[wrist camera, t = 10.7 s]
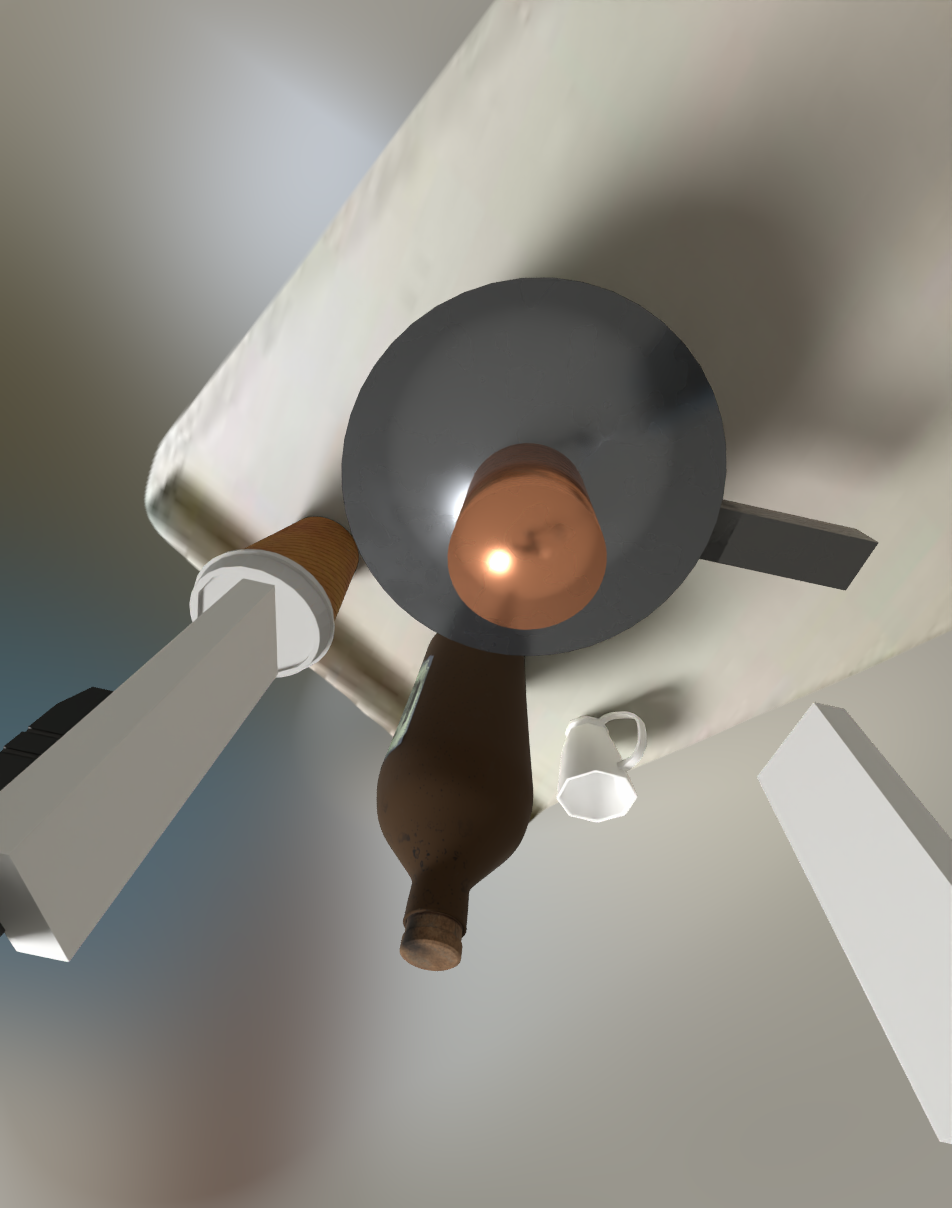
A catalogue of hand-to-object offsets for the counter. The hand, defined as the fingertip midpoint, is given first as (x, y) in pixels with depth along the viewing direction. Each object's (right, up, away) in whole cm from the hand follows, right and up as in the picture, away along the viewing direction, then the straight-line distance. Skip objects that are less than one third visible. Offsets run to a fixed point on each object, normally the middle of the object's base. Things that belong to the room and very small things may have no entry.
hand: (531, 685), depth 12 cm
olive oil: (-1, -3, +34) cm, 34 cm away
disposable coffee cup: (-15, +7, +29) cm, 34 cm away
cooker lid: (+1, +8, +13) cm, 15 cm away
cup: (+11, -10, +37) cm, 39 cm away
